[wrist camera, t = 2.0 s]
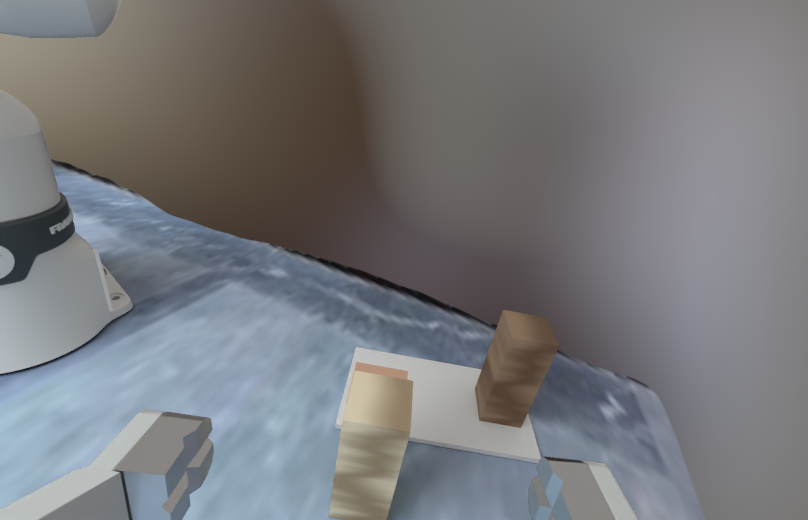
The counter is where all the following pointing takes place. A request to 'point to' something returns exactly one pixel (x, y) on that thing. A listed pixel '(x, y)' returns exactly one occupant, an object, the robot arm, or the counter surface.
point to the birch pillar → (371, 446)
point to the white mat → (445, 406)
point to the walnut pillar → (514, 368)
